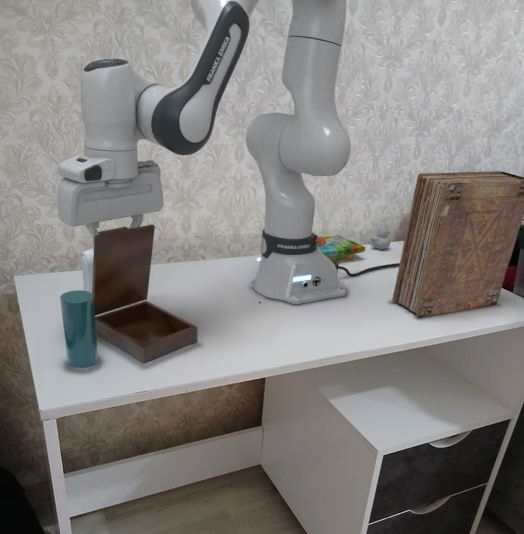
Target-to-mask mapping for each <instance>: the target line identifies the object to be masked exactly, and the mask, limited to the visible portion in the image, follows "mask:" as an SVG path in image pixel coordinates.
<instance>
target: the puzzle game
mask: <svg viewBox="0 0 524 534" xmlns="http://www.w3.org/2000/svg"><path fill="white" fill-rule="evenodd" d="M321 237H322V238H323V239H325V240H326V243H325V244H326V245H324V247H319V246H318V245H317V249H318V250H320V251H321V252H322V253H323V254H324V255H325V256H326V257H327V258H328V259H329V260H331V261H333V262H335V263H338V262H345V261H349V260H351V259H352V258H354V256H355V254H361V253H364V252H365V251H366V246H364V245H362V244H360V243H358V242H356V241H354V240H351V239H349V238H347V237H345V236H343V235H340V234H336V235H335V234H334V235H326V236H321Z"/></svg>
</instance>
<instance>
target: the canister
mask: <svg viewBox="0 0 524 534" xmlns="http://www.w3.org/2000/svg"><path fill="white" fill-rule="evenodd" d="M59 299H60V307H61V308H60V309H61V316H62V317H61V319H62V325H63V335H64V342H65V351H66V361H67V364H68V365H69V366H70V367H72V368H75V369H87V368H91V367H93V366H95V365H96V364H98V362H99V348H98V337H97V336H98V335H97V334H96V323H95V317H96V316H95V311H94V299H93V294H92V293H90V292H88V291H84V290H81V289H80V290H79V289H77V290H70V291H65V292H63V293H61V295H60V297H59Z"/></svg>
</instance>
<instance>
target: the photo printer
mask: <svg viewBox="0 0 524 534" xmlns="http://www.w3.org/2000/svg"><path fill="white" fill-rule="evenodd" d="M93 256H94V247H93V248H90V249H87V250H85V251H83V252H82V253H81V271H82V282H83V283H82V285H83V291H88V292H90V293H92V283H93Z"/></svg>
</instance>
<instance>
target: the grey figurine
mask: <svg viewBox="0 0 524 534" xmlns="http://www.w3.org/2000/svg"><path fill="white" fill-rule="evenodd" d="M389 234H390V231H389V228H388V227H387V223H385V224H382V225H381V226H380V227H379V228H378V230H377V235H375V236H371V237H370V240H371V241H370V242H371V243H370V245H371V246H373V247H375V248H377V249H379V250H386V249H388V248H389V247H390V245H391V239H390V237H389V236H390V235H389Z"/></svg>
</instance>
